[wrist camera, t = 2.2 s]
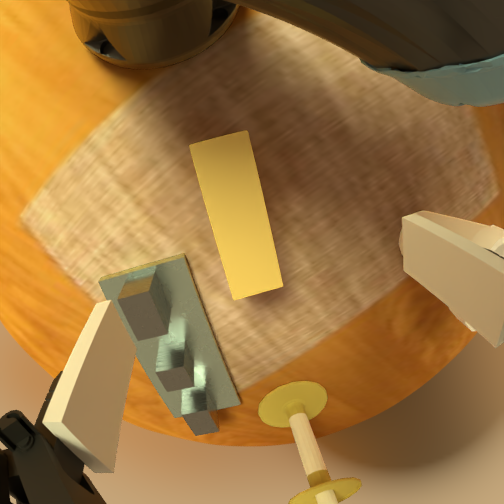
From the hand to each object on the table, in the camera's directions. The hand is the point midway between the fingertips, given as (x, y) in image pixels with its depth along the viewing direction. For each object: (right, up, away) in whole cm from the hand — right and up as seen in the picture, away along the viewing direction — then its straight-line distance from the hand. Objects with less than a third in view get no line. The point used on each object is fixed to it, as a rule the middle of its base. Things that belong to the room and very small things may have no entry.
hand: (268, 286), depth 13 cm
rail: (-9, -9, +20) cm, 24 cm away
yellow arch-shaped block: (-3, +6, +15) cm, 16 cm away
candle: (+5, -20, +26) cm, 33 cm away
